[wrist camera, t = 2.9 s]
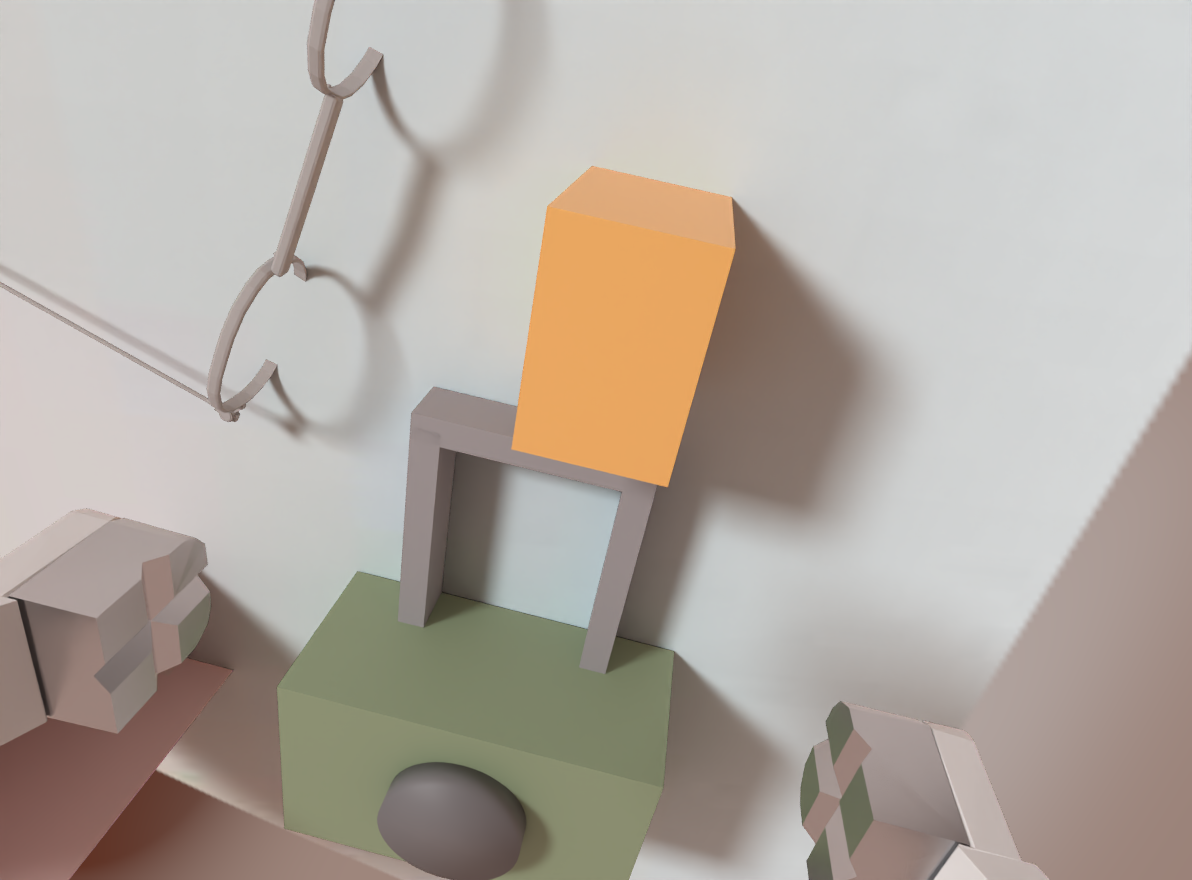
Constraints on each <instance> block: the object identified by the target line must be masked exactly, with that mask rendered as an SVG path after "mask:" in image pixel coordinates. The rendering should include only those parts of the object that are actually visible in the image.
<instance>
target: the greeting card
mask: <svg viewBox="0 0 1192 880" xmlns="http://www.w3.org/2000/svg"><path fill="white" fill-rule="evenodd" d="M232 672H233V670H230V669H226V668H223V667H219V666H215V665H211V664H208V663H204V662H200V661H196V660H193V659H189V658H186V659H185V660H184V661H183V662H182V663H181V664H179V665H176V666H174V667H172V668H170V669H167V670H165V671H163V672H160V673H158V674H157V691H156V692H155V693H154V694H153V696H152V697H151V698H150V699H149V700H148V701H147V702H146V703H145V704H144V705H143V707H142V708H141V709H140V710H139V711H138V712H137V713H136V714H135V715H134V716H133V718H132V719H131V720H130V721H129V722H128V723H127V724H126V725H125V726H124V727H123V729H122V730H121V731H120V732H119V733H118V734H117V733H112V732H108V731H104V730H100V729H95V728H91V727H87V726H82V725H78V724H74V723H70V722H65V721H61V720H57V719H52V718H48V717H47V722H45V723H44V724H42V725H40V726H38V727H36V728H34V729H32V730H30V731H28V732H26V733H24V734H22V735H21V736H19V737H17V738H15V739H13V740H11V741H9V742H7V743H5V744H3V745H1V746H0V880H69V879H70V878H71V877H72V875H73V874H74V873H75V871H76V870H77V869H78V868H79V866H80V865H81V864H82V862H83V861H84V860H85V859H86V857H87V856H88V855H89V853H90V852H91V851H92V850H93V849H94V847H95V846H96V845H97V843H98V842H99V841H100V839H101V838H102V837H103V836H104V835H105V833H106V832H107V831H108V829H109V828H110V827H111V826H112V824H113V823H114V822H115V821H116V819H117V818H118V817H119V815H120V814H121V813H122V812H123V810H124V809H125V808H126V806H127V805H128V804H129V803H130V801H131V800H132V799H133V798H134V796H135V795H136V794H137V792H138V791H139V790H140V789H141V787H142V786H143V784H145V782H146V781H147V780H148V778H149V777H150V776H151V775H152V773H153V772H154V771H155V770H156V768H157V767H158V766H159V764H160V763H161V762H162V761H163V759H164V758H165V757H166V756H167V754H168V753H169V752H170V750H171V749H172V748H173V747H174V745H175V744H176V743H177V742H178V740H179V739H180V738H181V736H182V735H183V734H184V733H185V731H186V730H187V729H188V728H189V726H190V725H191V724H192V722H193V721H194V720H195V719H196V717H197V716H198V715H199V714H200V712H201V711H202V710H203V708H204V707H205V706H206V705H207V703H208V702H209V701H210V700H211V698H212V697H213V696H214V694H215V693H216V692H217V691H218V689H219V688H220V687H221V686H222V684H223V683H224V682H225V680H226V679H227V678H228V677H229V675H230V674H231V673H232Z"/></svg>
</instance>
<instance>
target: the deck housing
mask: <svg viewBox="0 0 1192 880" xmlns="http://www.w3.org/2000/svg"><path fill="white" fill-rule="evenodd" d="M516 414H517V407H516V406H512V405H508V404H504V403H500V402H495V401H491V400H487V399H483V398H479V397H475V396H471V395H466V394H462V393H458V392H454V391H450V390H446V389H441V388H437V387H433V388H432V389H431V390H430V391H429V393H428V394H427V395H426V396H425V397H424V398H423V400H422V401H421V402H420V403H419V404H418V406H417V407H416V408H415V409H414V410H413V411H412V413H411V426H410V441H409V456H408V472H407V487H406V502H405V518H404V533H403V548H402V564H401V579H400V582H398V581H394V580H390V579H386V578H382V577H378V576H374V575H370V574H366V573H362V572H358V571H357V573H356V574H355V575H354V577H353V578H352V580H351V581H350V583H349V584H348V585H347V587H346V588H345V590H344V591H343V593H342V594H341V596H340V597H339V598H338V600H337V601H336V603H335V604H334V606H333V607H332V608H331V610H330V611H329V613H328V614H327V616H326V617H325V619H324V620H323V621H322V623H321V624H320V626H319V627H318V629H317V630H316V631H315V633H314V634H313V636H312V637H311V639H310V640H309V642H308V643H307V644H306V646H305V647H304V649H303V650H302V652H301V653H300V654H299V656H298V657H297V659H296V660H295V662H294V663H293V664H292V666H291V667H290V669H289V670H288V672H287V673H286V675H285V676H284V677H283V679H282V680H281V682H280V683H279V685H278V686H277V698H278V717H279V735H280V754H281V773H282V792H283V810H284V829H288V830H291V831H295V832H299V833H302V834H306V835H310V836H314V837H317V838H321V839H325V840H328V841H332V842H336V843H340V844H343V845H347V846H351V847H354V848H358V849H362V850H366V851H369V852H373V853H377V854H380V855H384V856H388V857H392V858H395V859H399V860H403V861H406V862H408V863H409V864H411V865H413V866H415V867H416V868H419V869H421V870H423V871H425V872H427V873H430V874H433V875H436V876H439V877H442V878H447V879H451V880H629V878H630V875H631V872H632V870H633V867H634V864H635V862H636V859H637V857H638V854H639V851H640V849H641V846H642V843H643V841H644V838H645V835H646V833H647V830H648V827H649V825H650V822H651V819H652V817H653V814H654V812H655V809H656V806H657V804H658V801H659V798H660V796H661V793H662V790H663V788H664V775H665V762H666V749H667V736H668V723H669V711H670V698H671V685H672V672H673V659H674V651H671V650H667V649H663V648H659V647H655V646H651V645H647V644H643V643H639V642H635V641H631V640H627V639H623V638H619V637H616V633H617V629H618V626H619V622H620V619H621V615H622V611H623V608H624V604H625V601H626V597H627V593H628V590H629V586H630V583H631V579H632V575H633V572H634V568H635V564H636V561H637V557H638V554H639V550H640V546H641V543H642V539H643V536H644V532H645V528H646V525H647V521H648V517H649V514H650V510H651V507H652V503H653V499H654V496H655V492H656V489H657V485H656V484H652V483H648V482H644V481H640V480H636V479H631V478H627V477H623V476H619V475H615V474H611V473H607V472H603V471H598V470H594V469H590V468H586V467H582V466H578V465H574V464H570V463H566V462H561V461H557V460H553V459H549V458H545V457H541V456H537V455H533V454H529V453H524V452H520V451H516V450H512V449H511V448H512V441H513V434H514V427H515V421H516ZM456 451H457V452H461V453H465V454H469V455H473V456H478V457H482V458H486V459H490V460H494V461H498V462H502V463H506V464H510V465H514V466H518V467H523V468H527V469H531V470H535V471H539V472H543V473H547V474H551V475H555V476H559V477H564V478H568V479H572V480H576V481H580V482H584V483H588V484H592V485H596V486H600V487H604V488H609V489H613V490H617V491H621V492H622V493H621V497H620V501H619V505H618V509H617V513H616V517H615V521H614V525H613V529H612V533H611V537H610V541H609V545H608V550H607V554H606V558H605V562H604V566H603V570H602V574H601V578H600V582H599V586H598V590H597V594H596V598H595V602H594V606H593V610H592V614H591V618H590V622H589V626H588V629H584V628H580V627H576V626H572V625H568V624H564V623H560V622H556V621H552V620H548V619H544V618H540V617H536V616H532V615H528V614H524V613H520V612H516V611H513V610H509V609H505V608H501V607H497V606H493V605H489V604H485V603H481V602H477V601H473V600H469V599H465V598H461V597H457V596H453V595H449V594H445V593H441V592H442V583H443V573H444V563H445V554H446V544H447V535H448V525H449V515H450V506H451V496H452V487H453V477H454V467H455V458H456Z"/></svg>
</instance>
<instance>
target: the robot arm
mask: <svg viewBox="0 0 1192 880" xmlns="http://www.w3.org/2000/svg"><path fill="white" fill-rule="evenodd" d="M207 565H208V562H207V555H206V548H205V543H203V542H201V541H200V540H198V539H197V538H194V537H191V536H187V535H183V534H180V533H176V532H173V531H169V530H166V529H162V528H158V527H155V526H151V525H148V524H144V523H141V522H137V521H133V520H130V519H126V518H119V517H115V516H112V515H109V514H105V513H102V512H98V511H95V510H91V509H88V508H86V509H80V510H75V511H71V512H69V513H68V514H66V515H65V516H63V517H62V518H60V519H59V520H57V521H56V522H55V523H53V524H52V525H50V526H49V527H47V528H46V529H44V530H43V531H41V532H40V533H38V534H37V535H35V536H34V537H32V538H31V539H29V540H28V541H26V542H25V543H23V544H22V545H20V546H19V547H17V548H16V549H14V550H13V551H11V552H10V553H8V554H7V555H5V556H4V557H3V558H1V559H0V746H1V745H3V744H5V743H7V742H9V741H11V740H13V739H15V738H17V737H19V736H21V735H22V734H24V733H26V732H28V731H30V730H32V729H34V728H36V727H38V726H40V725H42V724H44V723H45V722H47V717H48V718H52V719H57V720H61V721H65V722H70V723H74V724H78V725H82V726H87V727H91V728H95V729H100V730H104V731H108V732H112V733H117V734H118V733H119V732H120V731H121V730H122V729H123V727H124V726H125V725H126V724H127V723H128V722H129V721H130V720H131V719H132V718H133V716H134V715H135V714H136V713H137V712H138V711H139V710H140V709H141V708H142V707H143V705H144V704H145V703H146V702H147V701H148V700H149V699H150V698H151V697H152V696H153V694H154V693H155V692H156V691H157V674H158V673H160V672H163V671H165V670H167V669H170V668H172V667H174V666H176V665H179V664H181V663H182V662H183V661H184V660H185V659H186V658H187V656H188V655H189V654H190V653H191V652H192V651H193V650H194V648H195V647H196V646H197V644H198V642H199V640H200V638H201V636H202V634H203V632H204V630H205V628H206V626H207V624H208V620H209V615H210V609H211V598H210V591H209V590H208V588H207V587H206V586H205V584H204V583H203V582H202V580H201V579H200V578H199V576H198V574H199V573H200V572H201V571H202V570H203V569H204V568H205V567H206V566H207ZM826 726H827V732H828V738H829V739H827V740H825V741H823V742H821V743H819V744H817V745H815V746H813V748H812V751H811V753H810V755H809V757H808V759H807V762H806V764H805V768H804V773H803V778H802V783H801V797H800V807H801V816H802V825H803V827H804V828H805V829H806V831H807V832H808V834H809V835H810V836H811V838H812V839H813V841H814V842H815V843H816V845H815V846H814V848H813V850H812V852H811V854H810V856H809V858H808V859H807V868H808V876H809V880H1050V879H1049V878H1048V877H1047V876H1046V875H1045V874H1044V873H1043V872H1042V871H1041V870H1040V869H1039V868H1038V867H1037V866H1036V865H1035V864H1032V863H1028V862H1025V861H1022V859H1021V857H1020V854H1019V852H1018V850H1017V847H1016V844H1015V842H1014V840H1013V837H1012V835H1011V832H1010V830H1009V827H1008V824H1007V822H1006V820H1005V817H1004V814H1003V812H1002V809H1001V807H1000V805H999V802H998V799H997V797H996V794H995V792H994V790H993V787H992V785H991V782H990V780H989V777H988V775H987V772H986V769H985V767H984V764H983V762H982V759H981V757H980V755H979V752H978V749H977V747H976V744H975V742H974V740H973V738H972V737H971V736H970V735H969V734H968V733H967V732H966V731H965V730H960V729H956V728H952V727H948V726H944V725H939V724H935V723H931V722H927V721H919V720H917V719H913V718H909V717H905V716H901V715H897V714H892V713H888V712H884V711H880V710H876V709H872V708H868V707H864V706H860V705H856V704H851V703H847V702H843V701H840V702H839V703H838V704H837V705H836V706H834V707H833V709H832V711H831V713H830V715H829V717H828V718H827V720H826Z"/></svg>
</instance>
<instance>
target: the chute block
mask: <svg viewBox="0 0 1192 880" xmlns="http://www.w3.org/2000/svg"><path fill="white" fill-rule="evenodd" d="M735 249H736V247H735V233H734V219H733V205H732V197H728V196H724V195H719V194H715V193H710V192H706V191H702V190H697V189H693V188H688V187H684V186H679V185H675V184H670V183H666V182H662V181H657V180H653V179H648V178H644V177H639V176H635V175H630V174H626V173H621V172H617V171H613V170H608V169H604V168H599V167H595V166H591V167H590V168H589V169H588V170H587V171H586V172H585V173H584V174H582V175H581V176H580V177H579V178H578V179H577V180H576V181H575V182H574V183H573V184H571V185H570V186H569V187H568V188H567V189H566V190H565V191H564V192H563V193H561V194H560V195H559V196H558V197H557V198H556V199H555V200H554V201H553V202H551V203H550V204H549V205H548V206H547V212H546V219H545V225H544V232H543V239H542V246H541V252H540V259H539V266H538V273H537V279H536V286H535V293H534V299H533V306H532V313H531V320H530V326H529V333H528V340H527V347H526V353H525V360H524V367H523V374H522V380H521V387H520V394H519V400H518V407H517V414H516V421H515V427H514V434H513V441H512V448H511V449H512V450H516V451H520V452H524V453H529V454H533V455H537V456H541V457H545V458H549V459H553V460H557V461H561V462H566V463H570V464H574V465H578V466H582V467H586V468H590V469H594V470H598V471H603V472H607V473H611V474H615V475H619V476H623V477H627V478H631V479H636V480H640V481H644V482H648V483H652V484H656V485H660V486H664V487H668V484H669V481H670V477H671V474H672V470H673V467H674V463H675V460H676V456H677V453H678V449H679V446H680V442H681V439H682V435H683V432H684V428H685V425H686V421H687V418H688V414H689V411H690V407H691V404H692V400H693V397H694V393H695V390H696V386H697V383H698V379H699V376H700V372H701V369H702V365H703V362H704V358H705V355H706V351H707V348H708V344H709V341H710V337H711V334H712V330H713V327H714V323H715V320H716V316H717V313H718V309H719V306H720V302H721V299H722V295H723V292H724V288H725V285H726V281H727V278H728V274H729V271H730V267H731V264H732V260H733V256H734V253H735Z"/></svg>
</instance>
